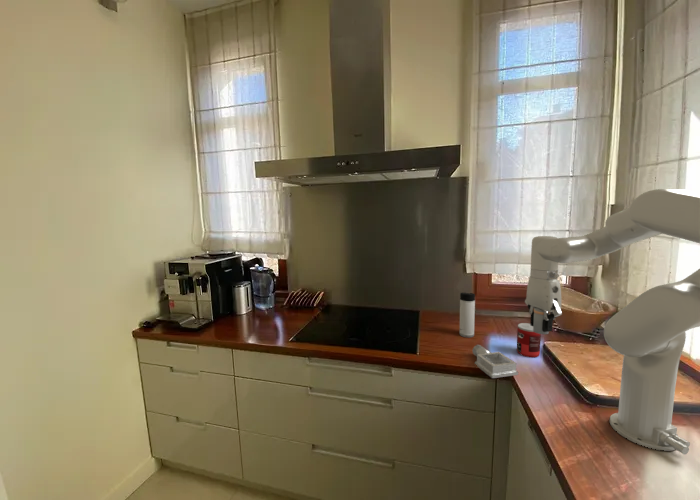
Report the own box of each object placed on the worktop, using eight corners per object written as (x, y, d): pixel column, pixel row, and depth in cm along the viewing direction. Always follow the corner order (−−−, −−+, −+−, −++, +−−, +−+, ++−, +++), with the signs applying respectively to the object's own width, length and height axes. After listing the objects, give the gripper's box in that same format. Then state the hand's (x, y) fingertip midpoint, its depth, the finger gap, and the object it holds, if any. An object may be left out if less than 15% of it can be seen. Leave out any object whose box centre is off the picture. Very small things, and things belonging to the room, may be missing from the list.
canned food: (518, 347, 127) (519, 321, 125) (541, 352, 122) (542, 325, 120) (514, 354, 121) (515, 327, 119) (538, 359, 116) (539, 331, 114)
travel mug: (458, 336, 139) (459, 293, 136) (460, 331, 144) (460, 290, 142) (473, 338, 136) (474, 294, 133) (474, 333, 142) (475, 291, 139)
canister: (552, 333, 100) (553, 310, 99) (540, 335, 100) (541, 311, 99) (541, 328, 105) (542, 305, 104) (529, 329, 104) (530, 307, 103)
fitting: (518, 374, 106) (518, 362, 105) (492, 378, 104) (492, 366, 103) (488, 354, 121) (489, 343, 121) (465, 356, 119) (466, 346, 119)
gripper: (576, 278, 92) (573, 337, 94) (533, 269, 109) (531, 318, 111) (555, 280, 91) (552, 339, 93) (515, 270, 107) (513, 320, 110)
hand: (540, 327), depth 102 cm, fingers closed on canister, 4 cm apart
